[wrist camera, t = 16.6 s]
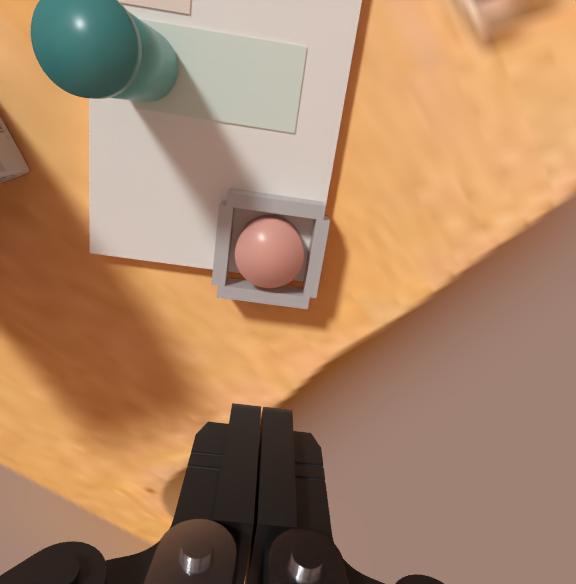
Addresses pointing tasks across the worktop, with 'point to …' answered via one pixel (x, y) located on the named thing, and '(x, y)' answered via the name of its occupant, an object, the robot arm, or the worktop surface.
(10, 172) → the coffee box
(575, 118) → the worktop surface
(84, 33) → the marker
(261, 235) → the button
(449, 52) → the worktop surface
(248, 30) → the board
